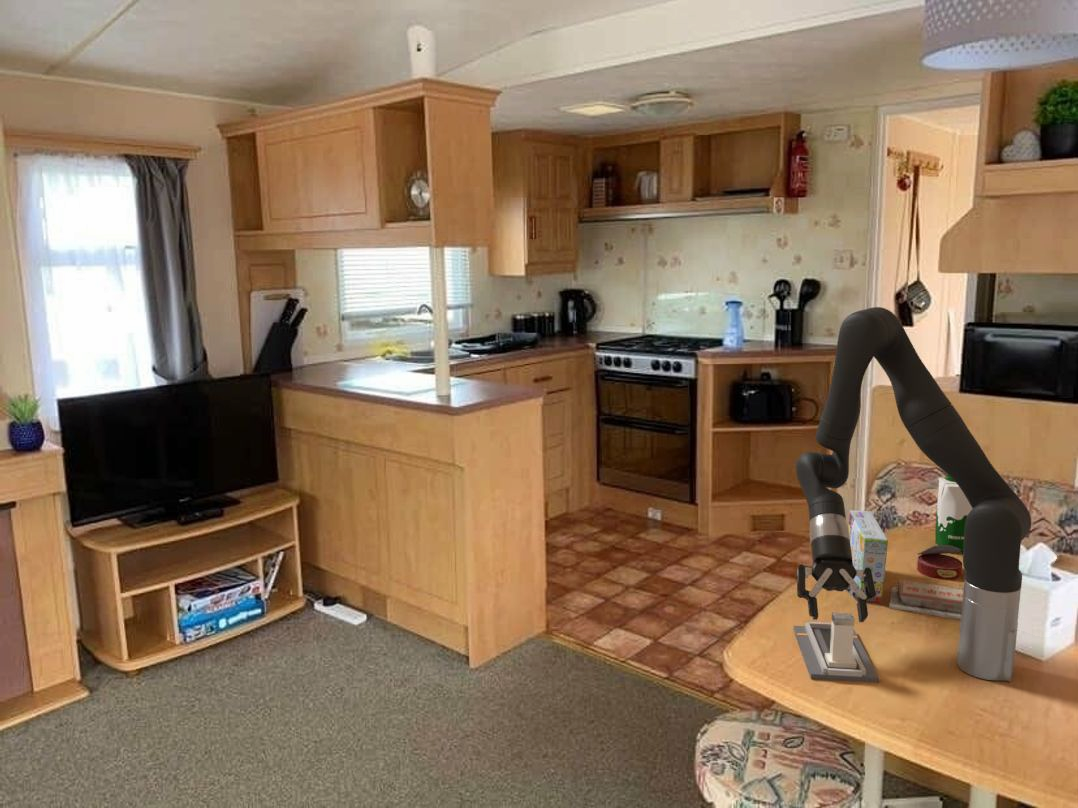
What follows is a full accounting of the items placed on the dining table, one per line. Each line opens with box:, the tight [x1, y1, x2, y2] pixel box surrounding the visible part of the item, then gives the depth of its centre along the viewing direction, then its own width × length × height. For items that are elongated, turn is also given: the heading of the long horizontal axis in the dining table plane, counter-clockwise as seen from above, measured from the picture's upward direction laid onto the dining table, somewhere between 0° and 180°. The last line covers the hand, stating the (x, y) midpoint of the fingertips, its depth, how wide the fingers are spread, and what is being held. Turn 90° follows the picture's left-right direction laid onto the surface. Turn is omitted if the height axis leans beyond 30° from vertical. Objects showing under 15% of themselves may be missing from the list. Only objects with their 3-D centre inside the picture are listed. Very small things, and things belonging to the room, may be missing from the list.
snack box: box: [848, 509, 889, 603], centre depth 195 cm, size 21×6×15 cm, turn 168°
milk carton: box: [934, 474, 972, 554], centre depth 216 cm, size 9×9×20 cm
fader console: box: [792, 621, 880, 684], centre depth 163 cm, size 12×20×2 cm, turn 172°
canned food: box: [916, 545, 963, 581], centre depth 202 cm, size 11×10×10 cm
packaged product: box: [888, 579, 964, 621], centre depth 183 cm, size 18×5×10 cm
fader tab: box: [825, 612, 857, 669], centre depth 156 cm, size 5×4×10 cm
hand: (839, 619), depth 158 cm, fingers open, 8 cm apart
